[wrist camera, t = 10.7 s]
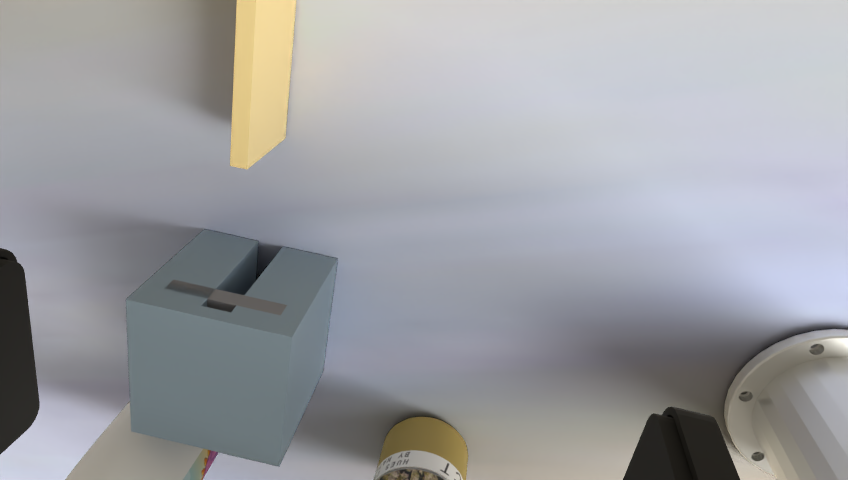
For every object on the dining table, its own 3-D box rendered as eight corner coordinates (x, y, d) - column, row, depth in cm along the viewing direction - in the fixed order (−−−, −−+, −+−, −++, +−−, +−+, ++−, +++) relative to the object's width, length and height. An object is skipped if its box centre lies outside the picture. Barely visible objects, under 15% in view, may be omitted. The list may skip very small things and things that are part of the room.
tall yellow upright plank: (301, -64, 36) (260, -66, 30) (285, 138, 41) (247, 169, 35) (284, -67, 36) (239, -70, 30) (270, 135, 41) (229, 165, 35)
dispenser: (337, 258, 44) (292, 337, 35) (323, 370, 49) (279, 466, 40) (204, 229, 45) (125, 299, 36) (201, 343, 49) (131, 431, 40)
